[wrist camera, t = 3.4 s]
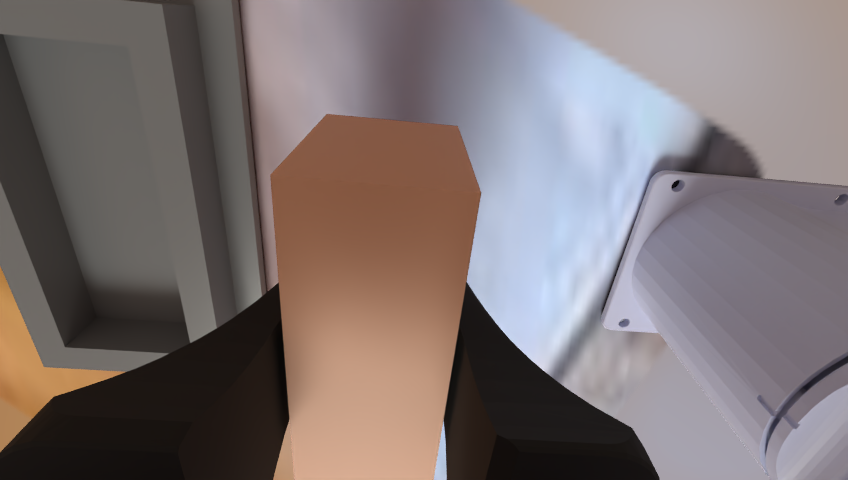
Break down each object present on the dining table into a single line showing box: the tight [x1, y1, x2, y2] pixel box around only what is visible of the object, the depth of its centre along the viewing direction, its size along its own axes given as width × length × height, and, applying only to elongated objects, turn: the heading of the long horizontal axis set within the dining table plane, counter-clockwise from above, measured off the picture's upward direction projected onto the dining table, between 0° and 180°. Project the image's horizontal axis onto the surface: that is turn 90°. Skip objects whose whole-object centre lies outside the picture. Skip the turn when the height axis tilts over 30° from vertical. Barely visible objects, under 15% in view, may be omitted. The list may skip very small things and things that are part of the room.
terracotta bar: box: [270, 114, 481, 480], centre depth 12 cm, size 4×10×5 cm, turn 175°
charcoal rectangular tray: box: [0, 0, 266, 372], centre depth 16 cm, size 10×18×3 cm, turn 175°
